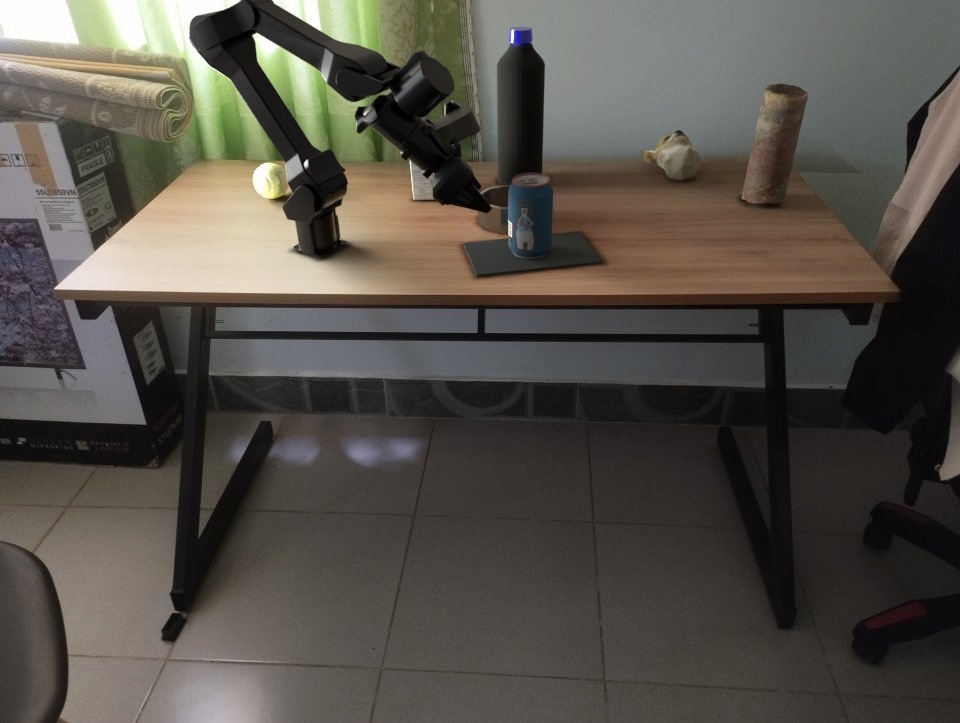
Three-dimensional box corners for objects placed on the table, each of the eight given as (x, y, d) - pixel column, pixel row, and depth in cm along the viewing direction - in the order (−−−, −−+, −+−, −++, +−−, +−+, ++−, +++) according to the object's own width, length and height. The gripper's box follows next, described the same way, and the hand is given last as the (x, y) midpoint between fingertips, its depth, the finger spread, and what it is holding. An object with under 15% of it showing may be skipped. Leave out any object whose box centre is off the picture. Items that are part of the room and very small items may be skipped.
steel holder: (521, 238, 124) (521, 213, 122) (466, 224, 130) (465, 200, 127) (553, 216, 132) (554, 191, 129) (500, 204, 137) (500, 180, 135)
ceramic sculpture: (663, 139, 138) (640, 122, 151) (658, 185, 143) (636, 164, 156) (718, 137, 139) (691, 120, 152) (712, 183, 144) (686, 162, 157)
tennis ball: (271, 206, 139) (265, 171, 135) (248, 199, 142) (241, 165, 138) (297, 196, 143) (292, 162, 139) (274, 189, 146) (268, 156, 143)
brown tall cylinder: (779, 194, 138) (803, 83, 127) (789, 209, 132) (815, 93, 121) (737, 194, 139) (757, 83, 128) (745, 209, 133) (766, 93, 122)
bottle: (538, 189, 143) (542, 33, 128) (494, 187, 145) (492, 32, 129) (544, 174, 150) (548, 24, 135) (501, 172, 152) (501, 24, 136)
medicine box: (436, 200, 139) (433, 155, 135) (412, 201, 140) (409, 155, 135) (439, 185, 146) (436, 141, 141) (416, 186, 146) (413, 142, 141)
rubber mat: (476, 277, 113) (476, 274, 112) (463, 245, 123) (462, 242, 122) (602, 263, 116) (602, 261, 116) (579, 233, 126) (579, 230, 125)
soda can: (543, 240, 122) (545, 169, 116) (557, 257, 117) (560, 184, 110) (503, 245, 121) (502, 173, 115) (515, 263, 116) (515, 189, 109)
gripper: (454, 104, 95) (535, 181, 103) (437, 72, 111) (509, 141, 118) (397, 169, 99) (480, 238, 106) (388, 129, 114) (462, 192, 122)
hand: (484, 199), depth 113 cm, fingers open, 9 cm apart
